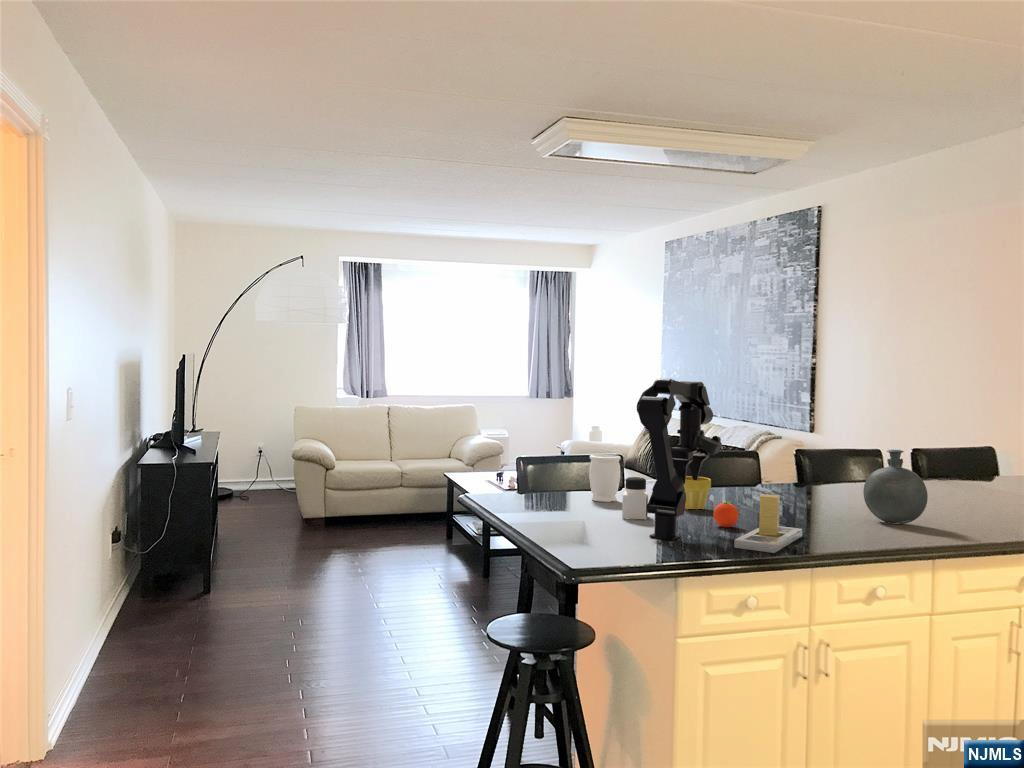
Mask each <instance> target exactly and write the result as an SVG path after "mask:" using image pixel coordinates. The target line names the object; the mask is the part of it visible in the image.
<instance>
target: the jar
mask: <svg viewBox="0 0 1024 768" xmlns="http://www.w3.org/2000/svg"><path fill="white" fill-rule="evenodd" d="M589 459H590V464H589V470H588V476H589V477H588V478H589V484H590V485H589V486H590V490H591V493H592V494H593V495H592V497H591V501H595V502H600V503H612V502H611V501H614V502H616V501H617V500H618V498H617V497H616V495H617V494H618V491H619V485H620V480H621V465H620V461H621V456H620V455H615V454H605V453H604V454H600V453H599V454H590V455H589Z"/></svg>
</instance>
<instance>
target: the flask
mask: <svg viewBox="0 0 1024 768" xmlns="http://www.w3.org/2000/svg"><path fill="white" fill-rule="evenodd" d="M886 453H889V457H890V458H887V464H888V466H886V467H882V468H877V470H875V471H872V472H871V473H870V474H869V476H868V477H867V478H866V480H865V482H864V485H863V499H864V503H865V504H866V507H867V508H868V510H869V511H870V512H871V513H872V514H873V515H874V516H875V517H876V518H877V519H879V520H881V521H883V522H884V521H885V523H887V522H890V523H889V524H891V523H900V524H899V525H903V524H905V525H906V524H909V523H911V522H913V521H916V520H917V519H918V518H920V517H921V516H922V514H923V513H924V511H925V510H926V507H927V505H928V499H929V498H928V497H929V495H928V489H927V487H926V483H925V482H924V481H923V479H922V477H920V476H919V475H918V474H917V473H916V472H914V471H913V470H910V469H908V468H904V467H903V464H904V459H903V458H901V456H902V454H903V453H905V451H903V450H901V449H888V450H886Z"/></svg>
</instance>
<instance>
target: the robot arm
mask: <svg viewBox="0 0 1024 768" xmlns="http://www.w3.org/2000/svg"><path fill="white" fill-rule="evenodd" d="M659 394H661V395H668V397H665V396H659ZM675 399H676V400H678V402H679V403H680V404H681V405H679V406H678V410H679V413H680V414H679V429H677V430H676V431H677V432H676V434H679V443H677V444H676V446H674V447H673V446H672V447H671V443H670V435H669V431H668V425H669V423H670V421H671V419H672V417H673V414H672V413H673V411H674V408H675V407H676V405H677V403H676V400H675ZM710 405H711V402H710V399H709V395H708V391H707V387H706V386H705V384H704V382H702V381H686V380H685V381H683V380H682V381H678V380H675V379H673V378H657V379H655V380H654V382H653V384H652V385H651V386H649V387H648V388H646V389H645V390H644V391H643V392H642V393H641V396H640V397H639V399H638V400H637V403H636V412H637V415H638V418H639V421H640V423H641V425H643V427H644V428H645V429H646V430H647V431H648V437H649V441H650V448H651V454H652V459H653V460H652V461H653V464H654V471H655V476H656V477H655V478H656V481H655V483H654V484H653V487H652V488H651V489H652V492H651V495H650V498H649V499H648V505H647V511H648V514H654V532H653V533H652V534H650V535H649V538H653V539H654V538H655V539H661V540H669V541H673V540H676V539H678V538H681V537H682V534H678V533H677V518H678V517H681V516H684V514H685V510H686V509H685V504H686V493H685V488H684V484H685V481H686V476H688V475H687V473H688V467H689V471H690V474H691V476H692V478H693V480H697V479H698V477H700V471H701V470H702V469H701V468H702V466H703V464H704V461H705V460H707V459H708V458H709V457H710V455H712V456H714V455H715V454H716V455H718V454H719V452H720V449H722V447H723V445H722V444H723V443H722V441H721V437H720V436H718V435H713V436H712V437H710V436H705V431H704V430H703V429H702V427H701V426H703V425H708V424H710V422H712V420H713V418H714V413H713V410H712V408H711V407H710ZM675 473H676V474H675Z"/></svg>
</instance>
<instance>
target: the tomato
mask: <svg viewBox="0 0 1024 768" xmlns="http://www.w3.org/2000/svg"><path fill="white" fill-rule="evenodd" d="M712 515H713V519H714V521H715V523H716V524H717V525H718V526H720V527H722V528H731V527H733V526H734V525H736V523H737V522H738V520H739V511H738V508H737V507H736V506H735V505H734V504H733V503H732V502H726V501H725V502H721V503H719V504H718V505H716V507H714V511H713V514H712Z"/></svg>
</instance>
